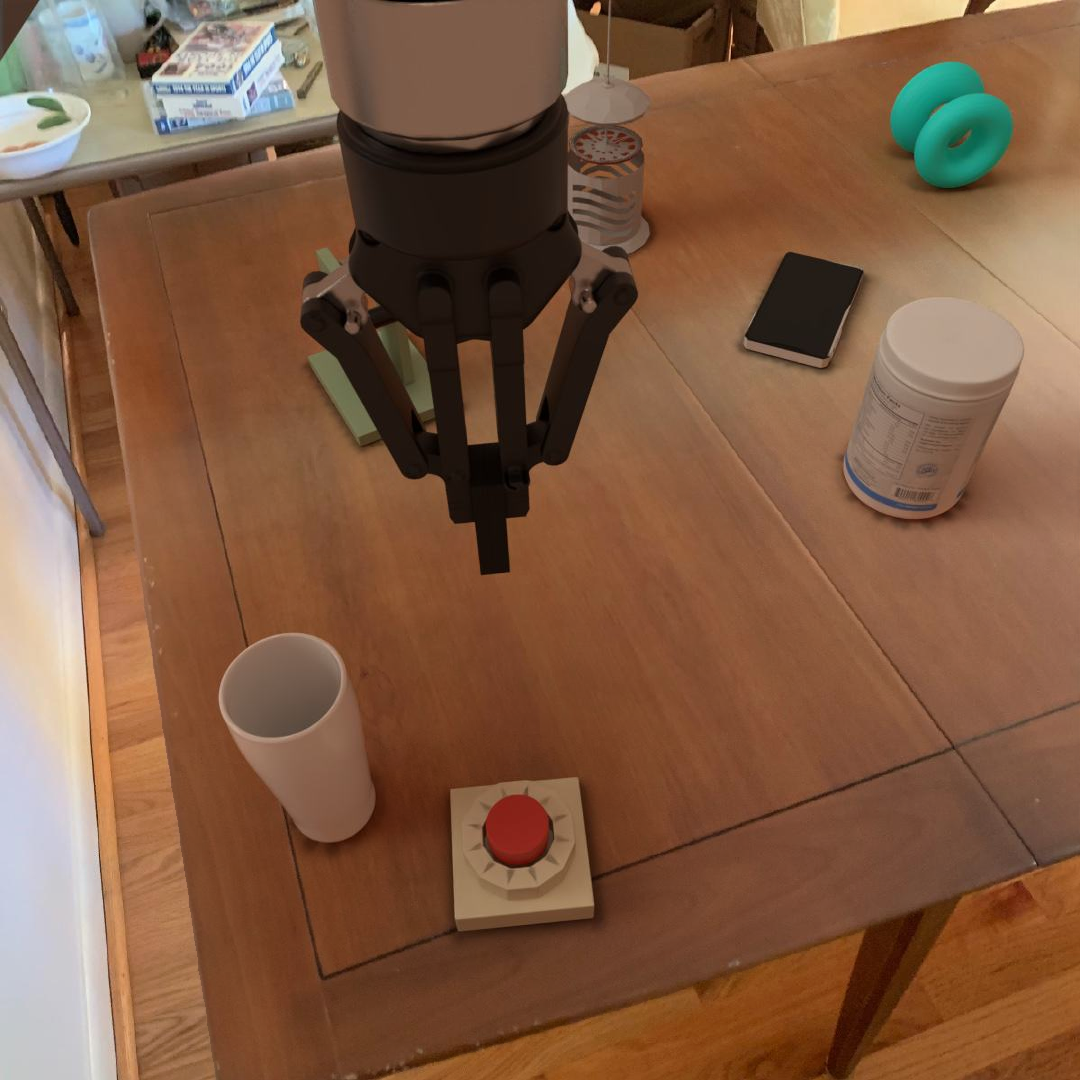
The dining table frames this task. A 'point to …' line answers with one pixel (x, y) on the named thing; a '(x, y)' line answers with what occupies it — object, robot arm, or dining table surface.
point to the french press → (607, 162)
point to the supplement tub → (930, 405)
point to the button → (517, 829)
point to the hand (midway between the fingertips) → (493, 552)
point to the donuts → (951, 124)
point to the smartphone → (804, 310)
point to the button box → (520, 890)
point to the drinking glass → (302, 732)
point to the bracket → (402, 357)
